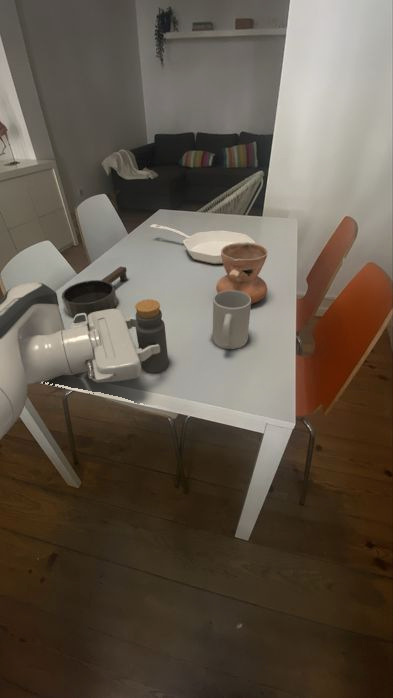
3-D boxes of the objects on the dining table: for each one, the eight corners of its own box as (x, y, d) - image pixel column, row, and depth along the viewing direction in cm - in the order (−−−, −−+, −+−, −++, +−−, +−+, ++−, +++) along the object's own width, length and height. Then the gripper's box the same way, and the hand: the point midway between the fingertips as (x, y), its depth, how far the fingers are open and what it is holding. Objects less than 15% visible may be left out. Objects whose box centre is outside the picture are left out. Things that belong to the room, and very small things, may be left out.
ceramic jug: (256, 316, 84) (262, 266, 76) (206, 306, 89) (206, 257, 81) (273, 288, 97) (279, 241, 88) (228, 280, 102) (230, 235, 93)
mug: (216, 327, 81) (216, 288, 74) (249, 331, 79) (253, 291, 73) (205, 356, 72) (205, 314, 65) (243, 361, 70) (247, 319, 63)
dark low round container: (55, 313, 88) (50, 299, 85) (86, 290, 98) (83, 277, 96) (98, 323, 84) (94, 308, 81) (126, 298, 94) (124, 284, 91)
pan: (234, 272, 107) (235, 253, 103) (133, 249, 125) (131, 233, 121) (262, 247, 124) (264, 231, 120) (170, 231, 142) (169, 216, 138)
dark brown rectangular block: (103, 293, 97) (100, 280, 94) (122, 278, 105) (120, 266, 102) (109, 295, 96) (106, 281, 93) (128, 279, 104) (126, 267, 101)
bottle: (170, 356, 72) (165, 298, 63) (165, 374, 67) (159, 313, 58) (145, 355, 73) (136, 297, 63) (139, 372, 68) (128, 312, 59)
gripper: (85, 370, 52) (166, 351, 56) (76, 309, 67) (140, 297, 71) (93, 396, 56) (168, 377, 60) (83, 334, 71) (143, 321, 75)
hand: (153, 333), depth 65 cm, fingers open, 8 cm apart
